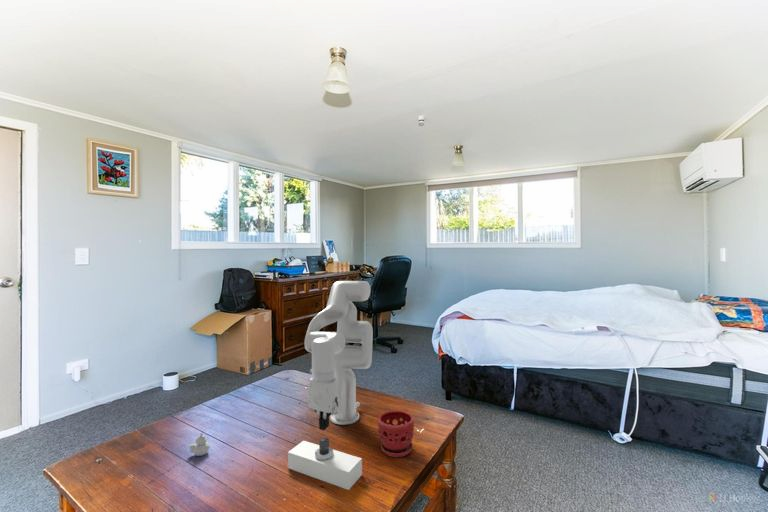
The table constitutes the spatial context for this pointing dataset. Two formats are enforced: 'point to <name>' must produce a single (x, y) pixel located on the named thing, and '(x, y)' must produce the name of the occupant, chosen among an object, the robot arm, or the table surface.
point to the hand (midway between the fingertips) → (324, 427)
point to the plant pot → (396, 433)
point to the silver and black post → (324, 450)
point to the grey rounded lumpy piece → (200, 446)
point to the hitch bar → (325, 465)
